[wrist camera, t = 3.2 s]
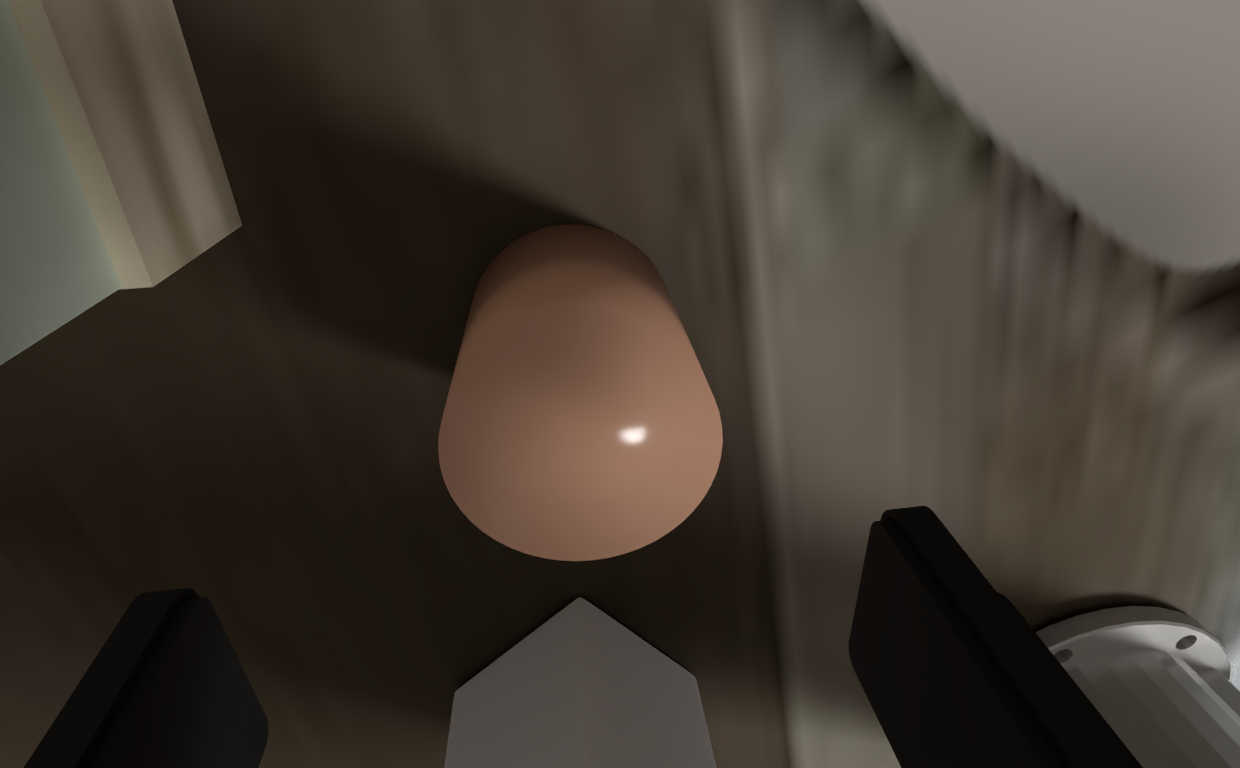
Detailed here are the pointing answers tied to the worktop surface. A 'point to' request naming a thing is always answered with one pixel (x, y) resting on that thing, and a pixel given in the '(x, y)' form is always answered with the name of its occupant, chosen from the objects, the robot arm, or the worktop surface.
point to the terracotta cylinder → (577, 401)
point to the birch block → (132, 129)
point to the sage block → (40, 211)
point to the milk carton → (580, 703)
